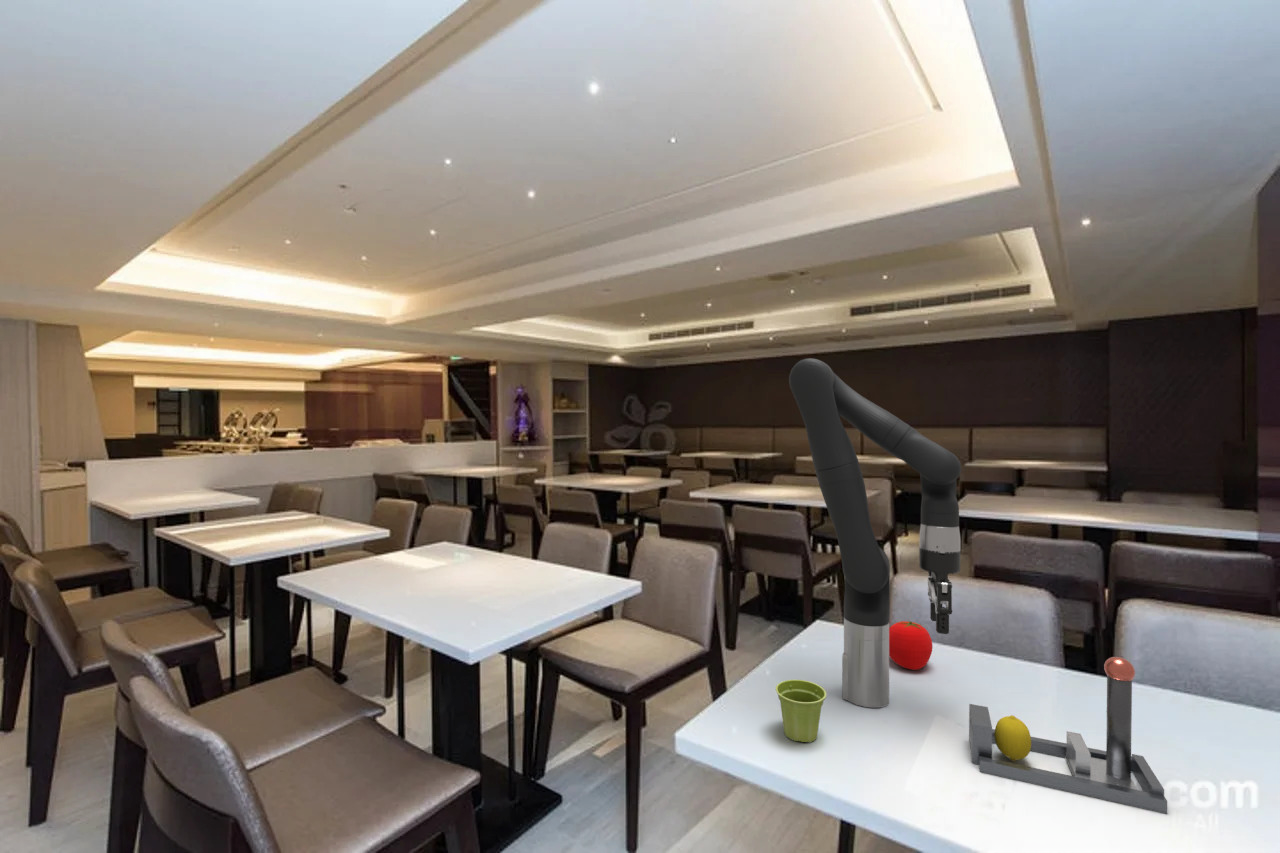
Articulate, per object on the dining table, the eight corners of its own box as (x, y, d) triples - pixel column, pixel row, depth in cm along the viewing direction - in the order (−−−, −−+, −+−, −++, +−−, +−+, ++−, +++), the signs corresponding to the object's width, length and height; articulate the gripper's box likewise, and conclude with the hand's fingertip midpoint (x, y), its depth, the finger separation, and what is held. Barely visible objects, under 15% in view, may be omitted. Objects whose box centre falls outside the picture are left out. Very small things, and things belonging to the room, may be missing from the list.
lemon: (1037, 771, 101) (1037, 725, 101) (1001, 767, 103) (1001, 722, 102) (1023, 753, 107) (1023, 709, 107) (989, 750, 108) (989, 706, 108)
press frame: (973, 770, 102) (973, 730, 102) (968, 734, 113) (968, 698, 113) (1167, 813, 90) (1167, 768, 90) (1140, 769, 102) (1140, 729, 102)
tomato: (892, 674, 140) (892, 628, 140) (880, 656, 150) (880, 614, 150) (939, 676, 138) (940, 630, 138) (924, 658, 149) (924, 615, 149)
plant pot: (837, 740, 112) (837, 694, 111) (800, 754, 107) (800, 706, 107) (801, 718, 120) (801, 675, 120) (765, 730, 115) (765, 686, 115)
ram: (1076, 784, 97) (1077, 659, 97) (1065, 758, 105) (1066, 642, 104) (1141, 798, 94) (1142, 669, 93) (1126, 771, 101) (1127, 651, 100)
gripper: (915, 540, 129) (915, 615, 128) (923, 551, 115) (923, 635, 115) (954, 543, 126) (953, 619, 126) (966, 554, 113) (966, 640, 112)
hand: (939, 626), depth 120 cm, fingers open, 8 cm apart
